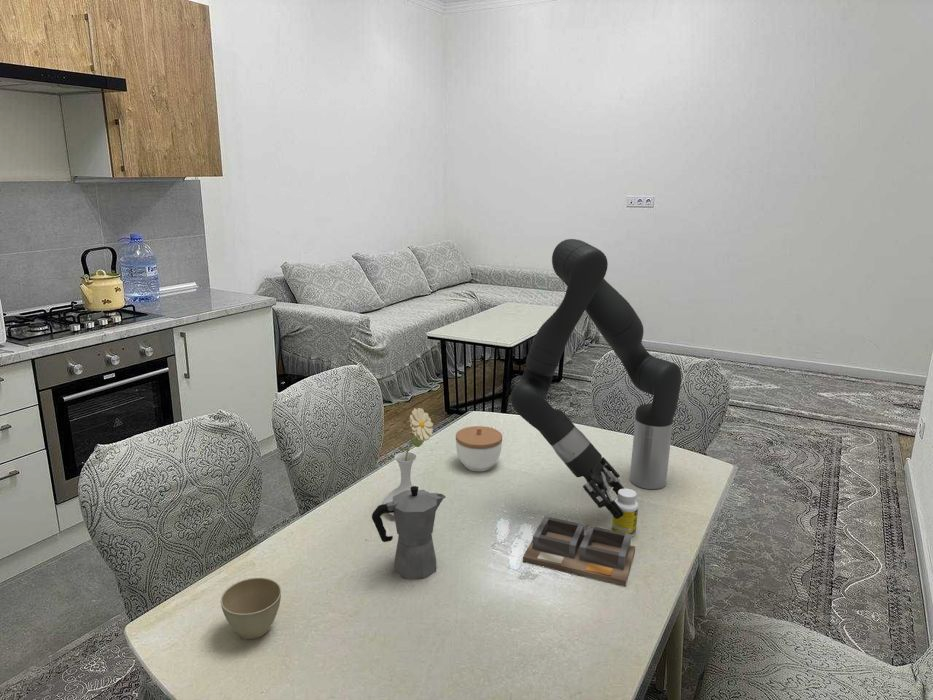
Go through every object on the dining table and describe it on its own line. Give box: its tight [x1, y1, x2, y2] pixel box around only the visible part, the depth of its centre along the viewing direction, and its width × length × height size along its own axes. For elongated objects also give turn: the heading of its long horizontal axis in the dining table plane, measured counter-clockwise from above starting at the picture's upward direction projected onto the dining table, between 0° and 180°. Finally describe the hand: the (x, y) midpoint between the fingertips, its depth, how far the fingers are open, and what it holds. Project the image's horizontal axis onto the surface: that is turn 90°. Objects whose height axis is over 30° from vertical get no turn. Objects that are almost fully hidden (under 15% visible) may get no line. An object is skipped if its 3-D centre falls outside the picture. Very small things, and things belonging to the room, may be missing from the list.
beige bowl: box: [220, 577, 282, 640], centre depth 113 cm, size 10×10×7 cm
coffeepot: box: [371, 485, 446, 580], centre depth 130 cm, size 15×9×18 cm, turn 116°
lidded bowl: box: [455, 425, 503, 472], centre depth 176 cm, size 13×13×11 cm
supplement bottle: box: [610, 487, 639, 538], centre depth 145 cm, size 5×5×10 cm
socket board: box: [522, 515, 636, 587], centre depth 136 cm, size 13×21×4 cm, turn 68°
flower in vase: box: [381, 407, 434, 517], centre depth 151 cm, size 13×11×25 cm
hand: (623, 507), depth 144 cm, fingers open, 8 cm apart
